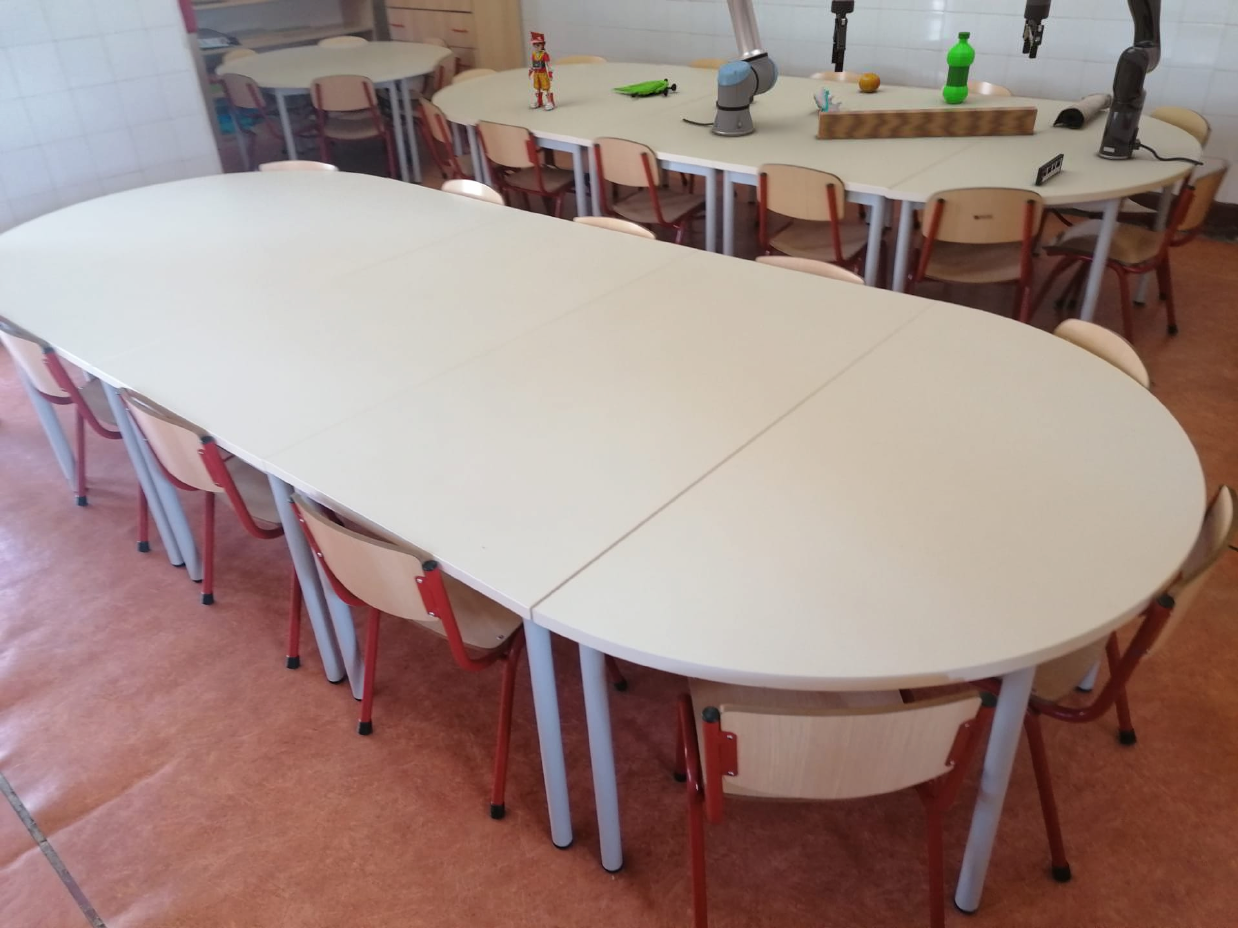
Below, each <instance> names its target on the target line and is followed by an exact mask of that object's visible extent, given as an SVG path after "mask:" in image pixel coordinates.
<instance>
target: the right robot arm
mask: <svg viewBox="0 0 1238 928" xmlns="http://www.w3.org/2000/svg"><path fill="white" fill-rule="evenodd" d="M1126 2H1127V6H1128V9H1129V12H1130V16H1131V19H1132V21H1133V22H1132V23H1133V26H1134V27H1133V42H1132V45H1131V46H1128V47H1127V48H1125V49H1124V50H1123V51H1122V52H1121V54H1120V55H1119V57H1118V60H1117V63H1116V66H1115V67H1116V68H1115V73H1114V77H1113V81H1112V101H1111V105H1110V108H1108V109H1109V110H1108V114H1107V117H1106V121H1105V126H1104V128H1103V129H1104V130H1103V134H1102V137H1101V142H1100V145H1099V150H1098V152H1097V155H1098V156H1099V157H1100V158H1103V159H1108V160H1126V159H1129V160H1131V159H1132V156H1133V152H1134V151H1140V148H1142V149H1145V150H1147V151H1149V152H1150V153H1152V155H1153V156H1154V158H1155V159H1157V160H1158V161H1162V162H1172V161H1184V162H1189V163H1192V164H1195V165H1198V166H1203V165H1204V162H1201V161H1198V160H1195V159H1192V158H1188V157H1181V156H1177V157H1176V156H1175V157H1161V156H1159V154H1158V153H1157V152H1156V150H1155V149H1154V148H1151V147H1149V146H1147V145H1146V144H1143V143H1142V142H1141V140H1140V138H1137V137H1138V134H1139V131H1140V126H1139V124H1140V120H1141V117H1142V113H1143V110H1144V106H1145V103H1146V99H1147V94H1148V91H1147V89H1146V88H1145V87H1144V85H1145V79H1146V75H1148V74H1150V73H1152V72H1153V71H1155V69H1157V67H1158V66H1159V64H1160V62H1161V57H1162V41H1161V40H1162V39H1161V12H1162V0H1126ZM1051 4H1052V0H1026V2H1025V8H1024V12H1023V13H1024V14H1023V19H1025V22H1024V27H1023V32H1022V36H1021V37H1022V40H1023V46H1022V51H1021V52H1022V54H1023V55H1028V59H1030V60H1033V59H1036V58H1037V55H1038V49H1039V46H1041V45H1042V43H1043V38H1044V37H1043V36H1044V30H1045V24H1042V21H1043V20H1047V19H1048V18H1049V15H1050V12H1051V11H1050V10H1051Z"/></svg>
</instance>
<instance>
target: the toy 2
mask: <svg viewBox="0 0 1238 928" xmlns="http://www.w3.org/2000/svg"><path fill="white" fill-rule="evenodd" d="M669 85H670V83H669V79H668V78H664V79H663V80H649V81H644V82H640V83H634V84H629V85H627V86H621V87H613V88H612V89H613V90H616V91H619V92H623V93H627V94H628V93H629V94H631V95H630V96H631V98H632V99H634V98H636V96H637V95H650V94H652V93H654V94H658V93H662V95H663V96H665V97H667V96H668V95H669V90H671V91H672V92H676V91H677V84H676V83H672V84H671V86H669Z"/></svg>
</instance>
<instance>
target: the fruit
mask: <svg viewBox="0 0 1238 928" xmlns="http://www.w3.org/2000/svg"><path fill="white" fill-rule="evenodd" d="M880 85H881V78H880V76H879V75H878V74H876V73H873V72H869V73H864V74H863V75H862V76H860V78H859V80H858V88H859V89H860V90H861V91H862V92H864V93H873V92H875V91H877V90H878V89H879V87H880Z"/></svg>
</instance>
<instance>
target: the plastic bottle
mask: <svg viewBox="0 0 1238 928" xmlns="http://www.w3.org/2000/svg"><path fill="white" fill-rule="evenodd" d="M970 36H971V32H970V31H959V32H958V36H957V39H958V42H957V43H956V44H954V45H953V46H952V47H951V48H950V49H949V50H948V52H947V54H946V63H947V64H948V69H947V70H948V71H947V76H946V77H947V78H946V84H945V85H944V87H943V90H942V97H943V99H944V100H945V101H946V102H947V103H948V104H960V103H961V102H963V101H964V100H966V98H967V96H968V95H969V85H968V79H969V73H970V67H971V65H972V64H973V63H974V61H975V57H976V51H975V49H974V47H972V45H971V44H970V43H969V42H968V41H969V39H970V38H971V37H970Z"/></svg>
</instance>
